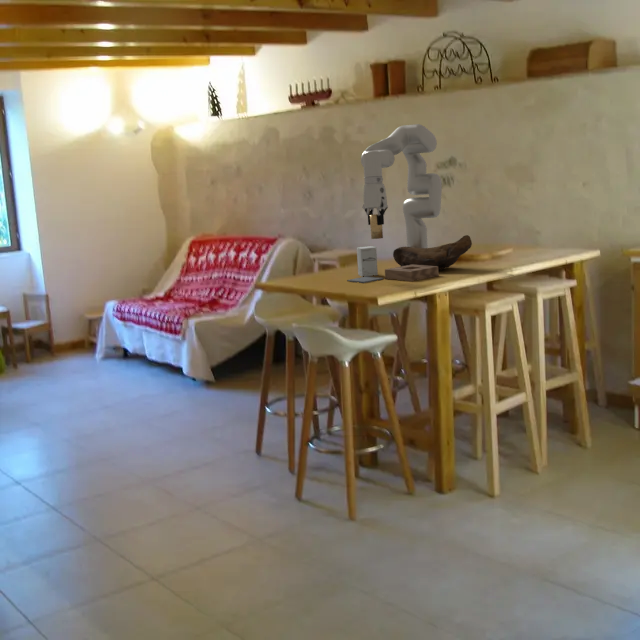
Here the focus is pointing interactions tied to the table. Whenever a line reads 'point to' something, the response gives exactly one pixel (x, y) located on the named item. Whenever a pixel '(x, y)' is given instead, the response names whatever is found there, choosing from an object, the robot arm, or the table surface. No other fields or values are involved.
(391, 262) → the table surface
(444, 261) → the driftwood
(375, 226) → the tan mottled cylinder
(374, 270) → the supplement box
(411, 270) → the bore block
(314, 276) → the table surface
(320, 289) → the table surface
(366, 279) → the slate mat
